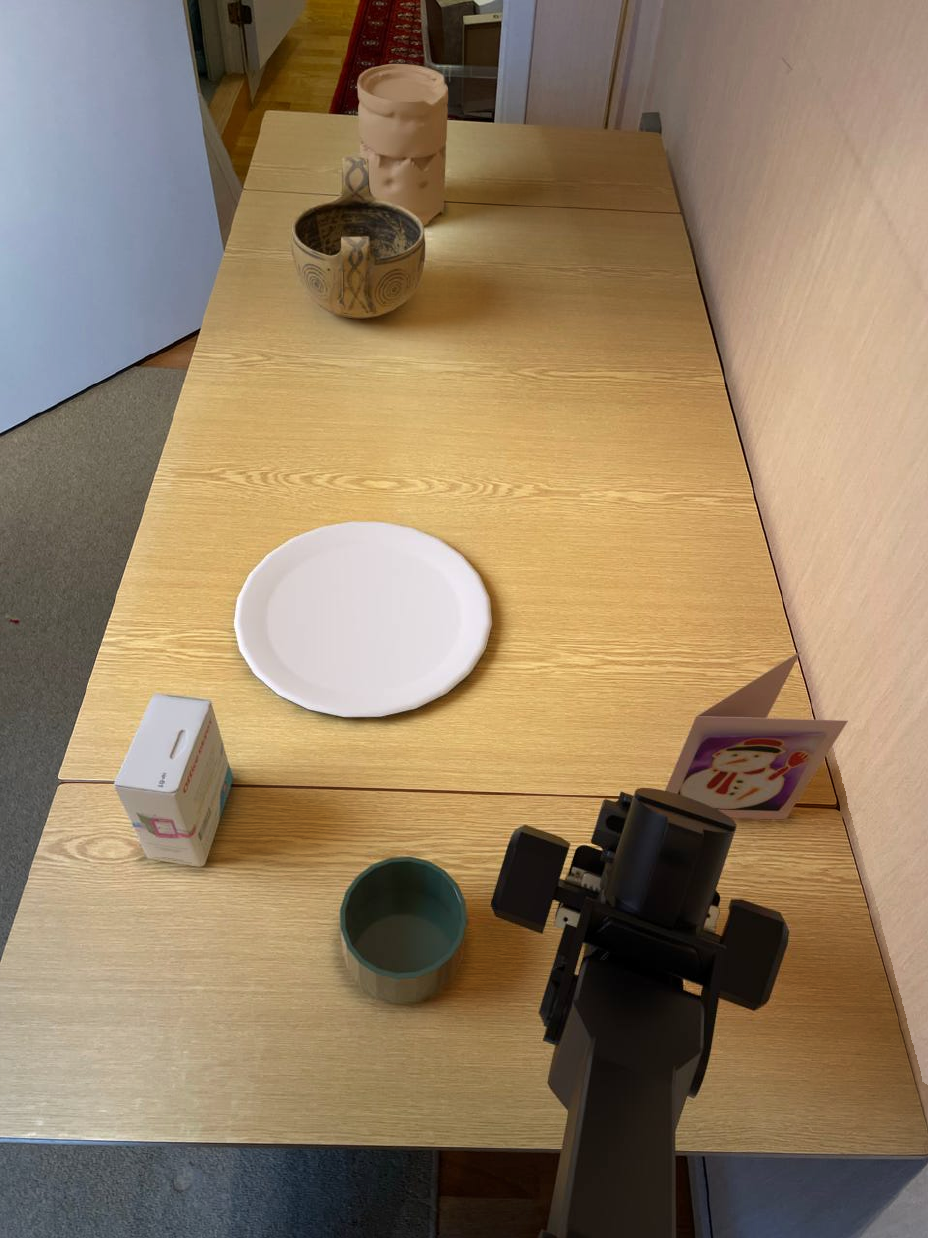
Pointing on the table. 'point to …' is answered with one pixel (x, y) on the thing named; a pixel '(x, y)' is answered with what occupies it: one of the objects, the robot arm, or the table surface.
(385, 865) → the green and tan cup
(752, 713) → the greeting card
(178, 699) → the ink box
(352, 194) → the ceramic bowl
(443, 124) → the container
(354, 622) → the plate
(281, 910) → the table surface
